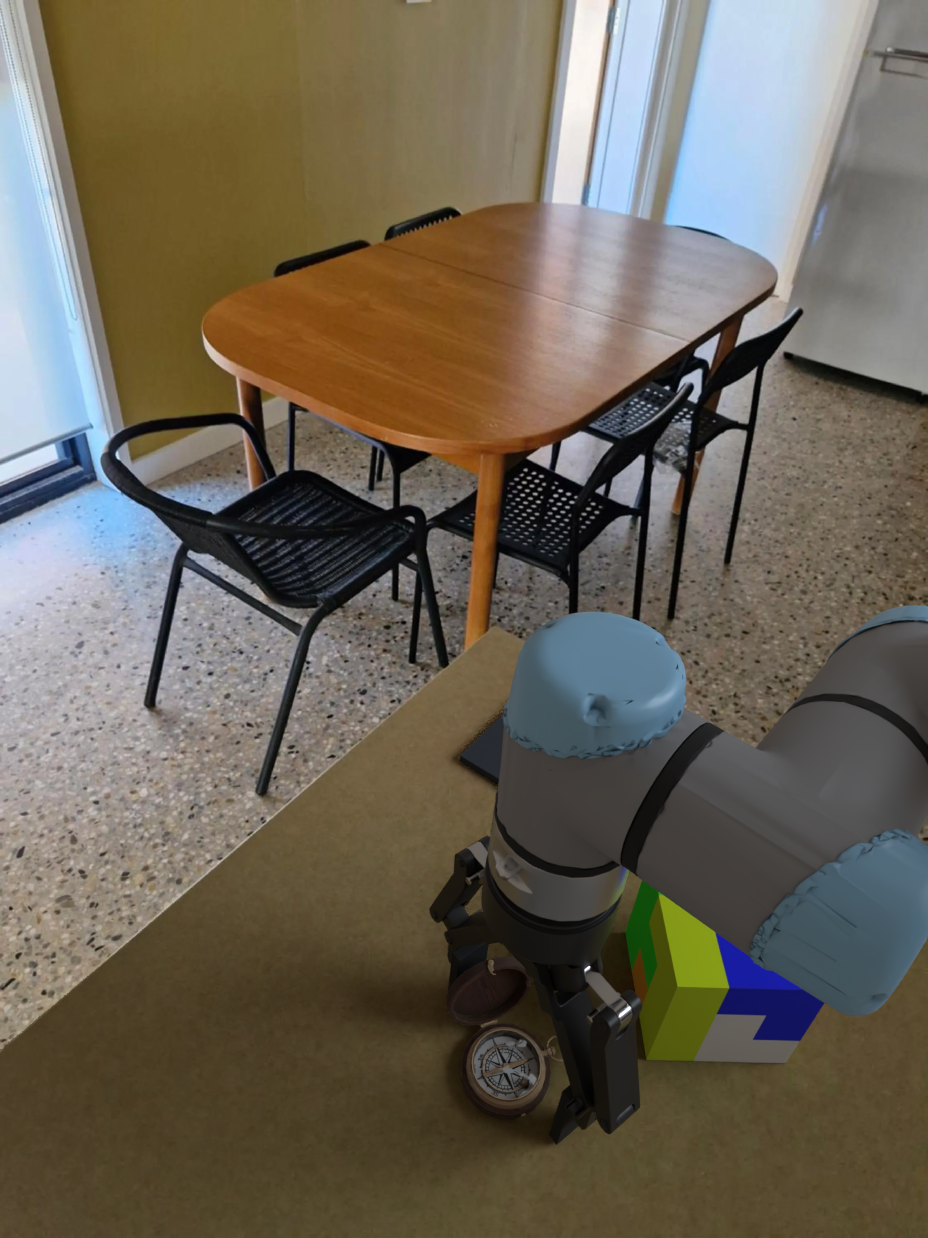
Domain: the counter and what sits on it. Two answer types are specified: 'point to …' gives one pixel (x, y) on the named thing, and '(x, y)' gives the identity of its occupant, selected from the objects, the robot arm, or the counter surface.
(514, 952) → the robot arm
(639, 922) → the puzzle toy
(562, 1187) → the counter surface
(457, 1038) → the counter surface
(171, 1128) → the counter surface
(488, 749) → the mat
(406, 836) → the counter surface
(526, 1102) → the compass
